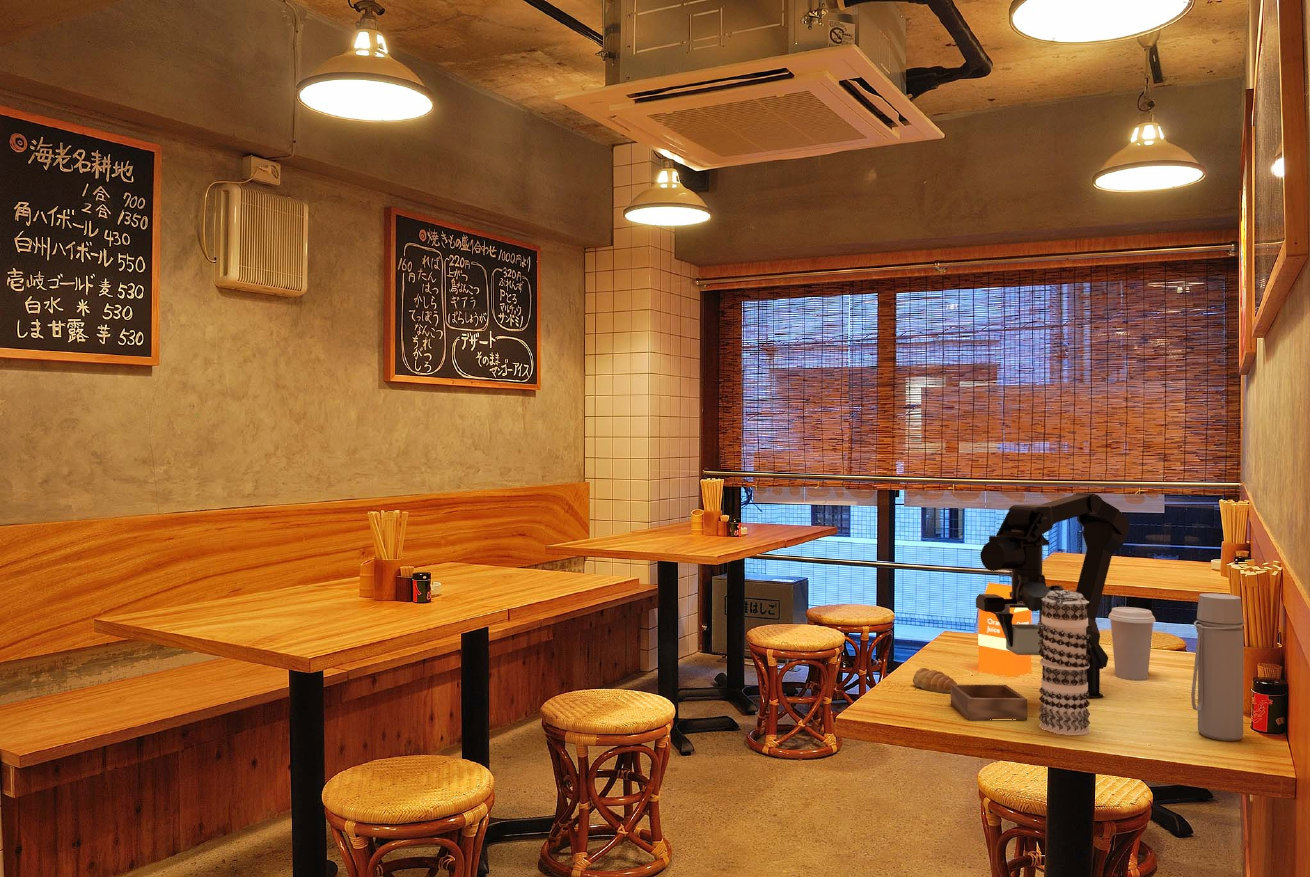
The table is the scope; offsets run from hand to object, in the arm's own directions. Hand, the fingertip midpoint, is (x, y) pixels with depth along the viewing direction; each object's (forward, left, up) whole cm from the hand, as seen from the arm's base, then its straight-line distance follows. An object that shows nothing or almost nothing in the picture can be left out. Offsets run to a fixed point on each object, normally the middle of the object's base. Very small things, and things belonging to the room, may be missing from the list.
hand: (1026, 646), depth 193 cm
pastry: (+14, -13, -12) cm, 23 cm away
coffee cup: (-33, -24, -12) cm, 42 cm away
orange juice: (-6, -28, -12) cm, 31 cm away
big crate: (+10, +5, -12) cm, 16 cm away
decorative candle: (-1, +16, -12) cm, 20 cm away
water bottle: (-26, +20, -12) cm, 35 cm away
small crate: (0, 0, -1) cm, 1 cm away
